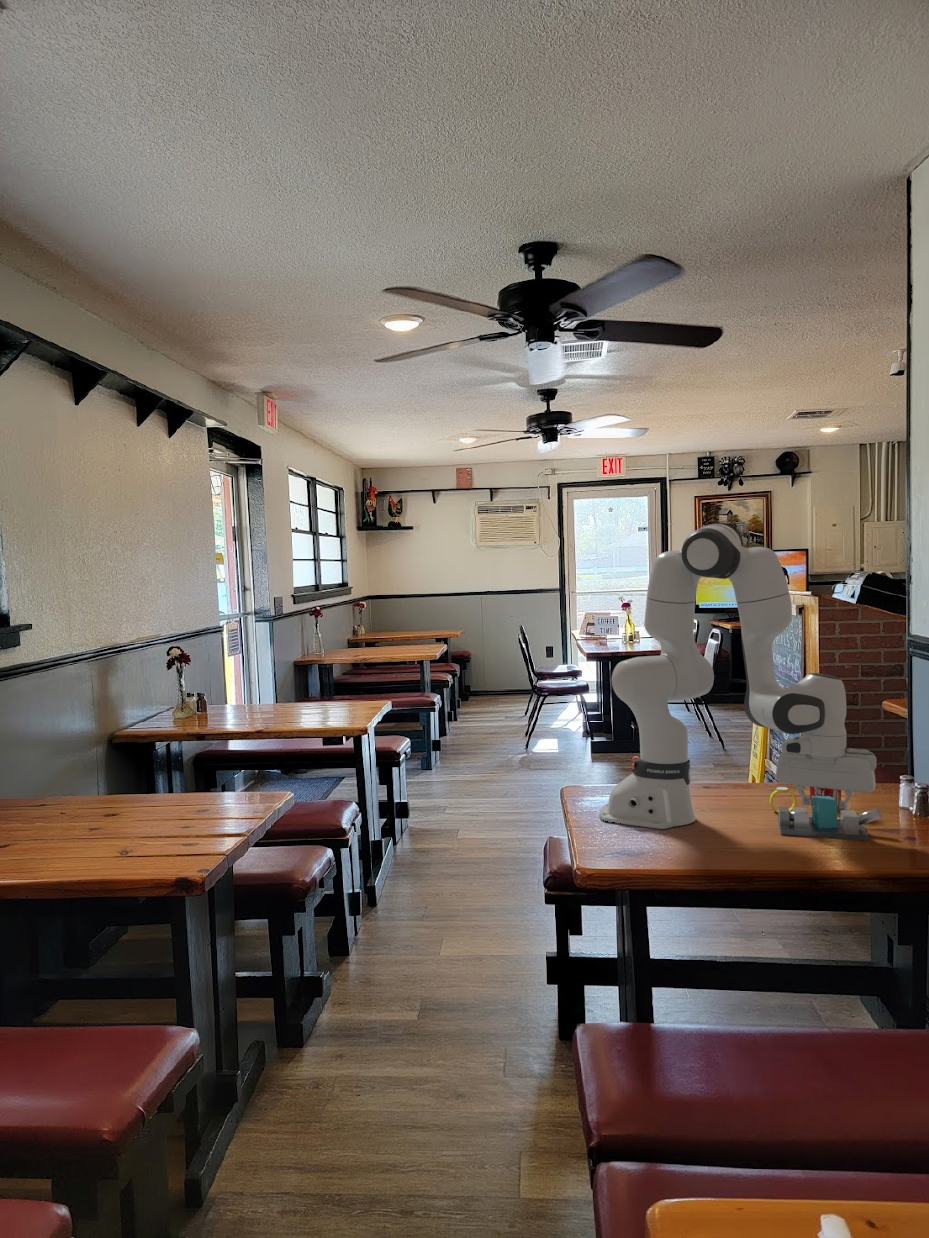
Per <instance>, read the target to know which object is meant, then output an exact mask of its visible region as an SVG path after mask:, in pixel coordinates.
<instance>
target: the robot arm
mask: <svg viewBox="0 0 929 1238" xmlns="http://www.w3.org/2000/svg"><path fill="white" fill-rule="evenodd" d="M701 578H711V579H722V580H727V579H728V580H729V581H730V583H731V585H732V587H733V592H734V597H735V600H736V601H735V602H736V605H737V610H738V615H739V616H738V617H739V623H740V628H741V629H740V630H741V631H740V633H741V646H742V654H743V662H744V670H745V677H746V691H745V696H744V701H743V703H744V704H743V708H744V712H745V715H746V716H747V719H748V720H749V721H750V722H751V723H753V724H754V725H756V726H758V727H762V728H766V729H771V730H774V731H776V732H780V733H783V734H787V735H797V734H802V735H800V736H797V737H790V738H787V739H786V740H785V741H783V742H782V744H781V745H780V748H781V753H780V754H779V756H778V757H777V758H778V759H777V761H776V770H775V778H776V780H777V781H778V782H779V784H787V785H796V791H797V793H798V794H799V796H800V797H801V805H803V806H811V804H810V795H806V793H805V791H804V789H805V788H806V787H810V786H811V787H820V788H828V789H837V790H841V791H844V795H845V796H846V798H845V799H844V800H842V799H841V801H840V802H839V805H840V807H839V809H838V810H846V811H847V810H849V801H850V800H851V798H852V797H853V796H854V792H855V793H862V794H863V793H864V794H872V792H874V790H875V789H876V775H875V770H876V768H877V764H878V763H877V757H876V755H875V754H874V753H873V752H871V751H869V749H865V748H861V749H858V748H855V747H854V748H852V747H847V730H846V726H845V721H846V717H847V696H846V695H847V694H846V689H845V685H844V682H843V680H841V679H840V678H839V677H837V676H833V675H828V674H823V673H818V672H817V673H816V672H810V673H807V674H806V675H805V677H803V678H802V679H800V681H798V682H795V683H794V684H793V685H790V686H788V687H785V688H783V687H782V686H781V685H780V684H779V683H778V680H777V679H776V673H775V666H774V665H775V664H774V658H773V644H774V641H775V640H776V639H777V637H779V635H781V634H782V633H784V631H786V630H787V628H788V627H789V625H790V624H791V622H792V619H793V618H792V617H793V606H792V605H793V604H792V600H791V595H790V592H789V585H788V582H787V579H786V576H785V572H784V570H783V567H782V564H781V562H780V560H779V558H778V555H777V553H776V552H775V551H774V550H772V549H771V548H768V547H764V546H753V547H745V546H744V541H743V538H742V535H741V533H740V532H739V531H738V530H737V529H736V528H735V527H733V526H732V525H731V524H730V525H729V524H727V523H722V522H718V523H717V522H716V523H712V524H706V525H704V526H701V527H699V528H698V529H696V530H694V531H692V532H691V533H690V534H688V536H687V537H686V538H685V540H684V542H683V544H682V546H681V550H668V551H664V552H662V553H660V554H658V555H657V557H656V558H655V559H654V560H653V564H652V568H651V571H650V575H649V580H648V586H647V591H646V593H647V594H646V601H645V602H646V603H645V612H644V613H645V614H644V623H643V625H644V628H645V631H646V632H647V634H648V635H649V637H651V638H652V639H654V640H656V641H657V642H659V644H660V655H647V656H635V657H632V658H629V659H625V660H621V661H620V662H618V663H617V664H616V665H615V667H614V668H613V671H612V675H611V686H612V690H613V692H614V693H615V695H616V696H617V698H619V699H620V701H622V702H624V703H625V704H626V705H627V706H628V708H630V710H631V711H632V712H631V713H633V715H634V717H635V719H636V722H637V727H638V733H639V736H638V737H639V751H640V753H639V754H640V755H639V756H638V755H634V756H633V757H632V759H631V772H632V773H631V774H629V775H628V776H626V777H625V778H624V779H622V780H621V781H619V783H617V784H616V785H615V786H613V788H612V790H610V794H609V798H608V803H607V804H605V805H602V807H601V808H600V810H599V813H598V814H599V815H598V816H599V817H598V818H599V819H600V820H601V819H602V820H601V821H603V820H604V821H603V822H605V821H608V822H607V823H612V822H615V823H614V824H620V823H621V824H622V825H628V826H636V827H643V828H652V829H658V830H667V829H669V828H673V827H679V826H680V827H681V826H685V825H690V824H691V823H693V822H695V821H696V820H697V817H696V815H695V811H694V808H693V803H692V797H691V791H690V790H691V789H690V783H691V781H692V780H691V779H692V776H691V775H692V774H691V762H690V759H689V746H688V745H689V739H688V738H689V736H688V735H689V734H688V733H689V732H688V729H687V727H686V725H685V723H684V722H683V721H681V720H680V719H678V718H676V717H674V716H673V715H672V714H671V712H670V710H669V702H673V701H685V700H687V701H688V700H692V699H695V698H700V697H701V696H704V695H707V694H708V693H710V691H711V689H712V688H713V685H714V680H715V674H714V669H713V667H712V664H711V663H710V662H709V660H708V659H707V658H706V657H704V656H703V654H702V653H701V652H700V649H699V648H698V647H697V644H696V640H695V634H694V633H695V632H694V624H695V623H694V622H695V612H696V611H695V609H696V601H697V600H696V599H697V591H698V590H697V589H698V586H699V585H698V584H699V581H700V579H701ZM621 824H620V825H621Z"/></svg>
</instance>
